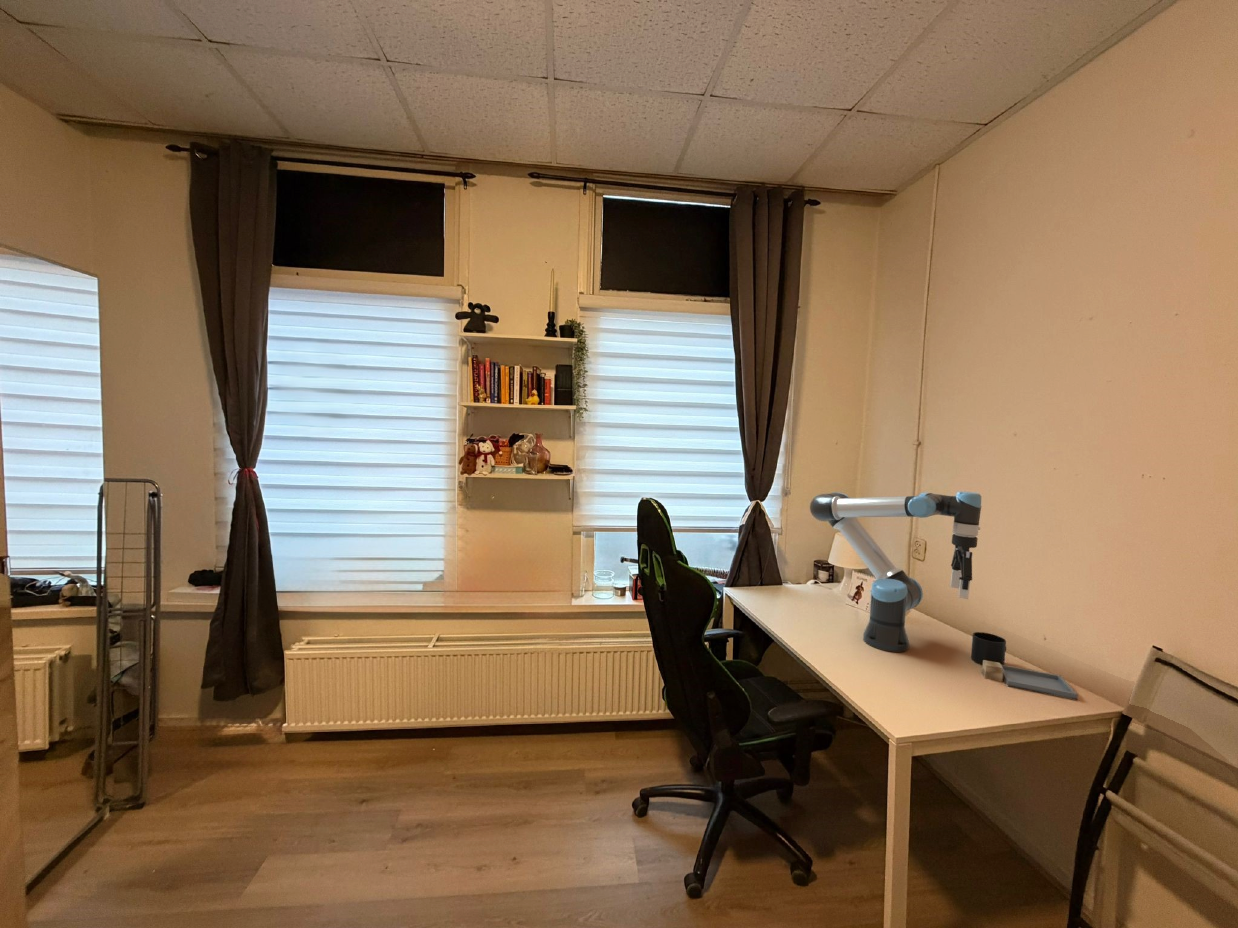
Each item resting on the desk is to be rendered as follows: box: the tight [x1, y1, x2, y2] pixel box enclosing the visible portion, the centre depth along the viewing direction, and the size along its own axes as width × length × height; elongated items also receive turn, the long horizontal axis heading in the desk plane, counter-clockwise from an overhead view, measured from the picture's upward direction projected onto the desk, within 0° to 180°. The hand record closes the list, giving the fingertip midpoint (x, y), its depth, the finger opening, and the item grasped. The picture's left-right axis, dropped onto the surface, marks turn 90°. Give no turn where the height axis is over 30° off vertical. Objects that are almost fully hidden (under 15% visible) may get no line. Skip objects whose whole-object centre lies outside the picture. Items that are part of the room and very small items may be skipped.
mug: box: [970, 631, 1007, 666], centre depth 176 cm, size 9×12×9 cm
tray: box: [1001, 664, 1079, 701], centre depth 161 cm, size 17×14×2 cm
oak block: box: [981, 660, 1003, 683], centre depth 165 cm, size 4×4×4 cm
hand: (958, 592), depth 182 cm, fingers open, 13 cm apart
